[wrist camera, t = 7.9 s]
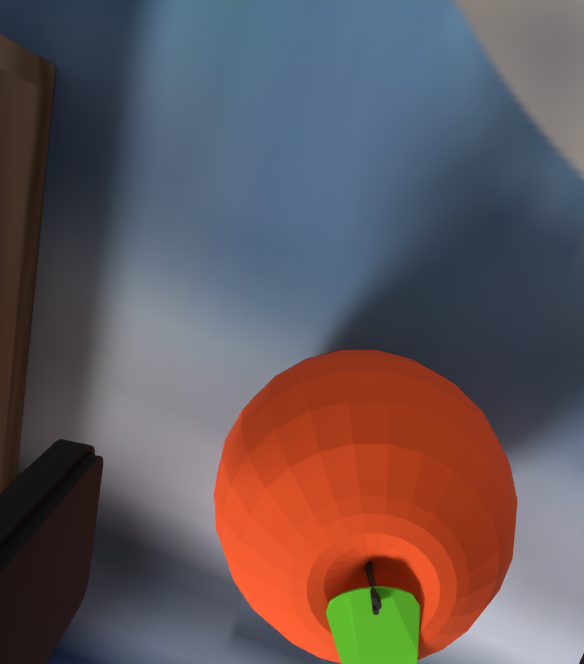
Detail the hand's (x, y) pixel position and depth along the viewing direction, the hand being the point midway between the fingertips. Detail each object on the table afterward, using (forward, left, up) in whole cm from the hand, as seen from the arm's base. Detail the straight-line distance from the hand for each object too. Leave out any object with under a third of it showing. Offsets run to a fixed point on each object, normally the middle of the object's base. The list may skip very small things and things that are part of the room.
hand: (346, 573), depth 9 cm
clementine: (-1, +1, -7) cm, 7 cm away
